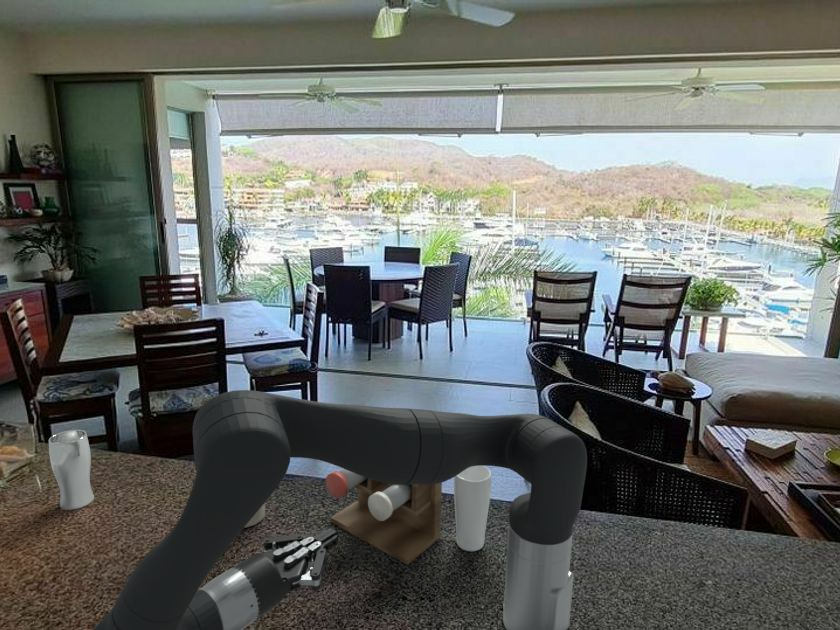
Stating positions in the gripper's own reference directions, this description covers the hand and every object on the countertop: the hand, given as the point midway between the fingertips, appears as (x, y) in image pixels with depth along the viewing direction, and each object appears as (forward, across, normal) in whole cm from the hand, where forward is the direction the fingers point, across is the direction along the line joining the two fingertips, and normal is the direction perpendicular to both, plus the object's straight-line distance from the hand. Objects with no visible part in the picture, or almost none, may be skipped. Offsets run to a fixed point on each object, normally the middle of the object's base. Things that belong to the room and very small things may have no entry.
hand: (334, 534), depth 85 cm
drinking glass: (+25, -10, +11) cm, 29 cm away
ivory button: (+15, 0, +2) cm, 15 cm away
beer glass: (-16, +62, +12) cm, 65 cm away
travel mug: (+3, +30, +11) cm, 32 cm away
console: (+18, +5, +11) cm, 22 cm away
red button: (+15, +11, +2) cm, 19 cm away
